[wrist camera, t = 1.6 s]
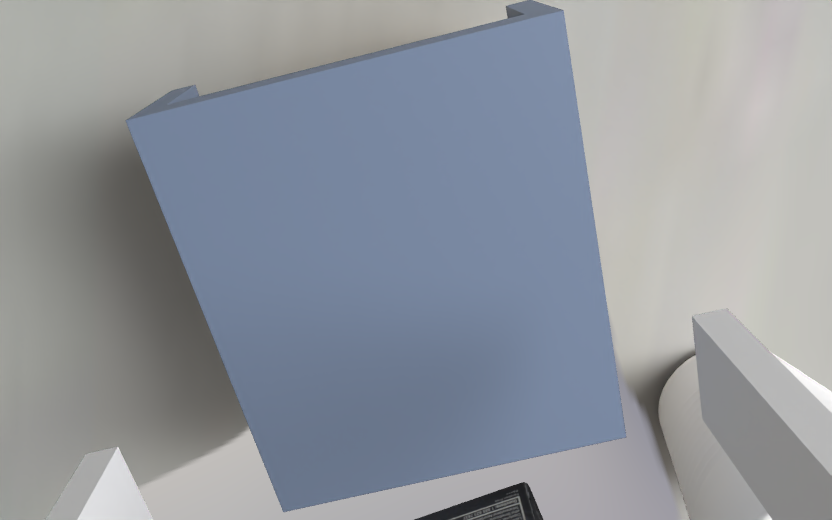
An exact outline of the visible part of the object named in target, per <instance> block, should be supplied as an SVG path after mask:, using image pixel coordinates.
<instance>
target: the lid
mask: <svg viewBox="0 0 832 520" xmlns="http://www.w3.org/2000/svg"><path fill="white" fill-rule="evenodd" d="M506 10H507V16H508V19H504V20H500V21H496V22H492V23H488V24H485V25H481V26H477V27H473V28H469V29H465V30H461V31H457V32H453V33H449V34H445V35H441V36H437V37H433V38H429V39H425V40H421V41H417V42H413V43H409V44H405V45H401V46H397V47H393V48H389V49H385V50H382V51H378V52H374V53H370V54H366V55H362V56H358V57H354V58H350V59H346V60H342V61H338V62H334V63H330V64H326V65H322V66H318V67H314V68H310V69H306V70H302V71H298V72H294V73H290V74H286V75H283V76H279V77H275V78H271V79H267V80H263V81H259V82H255V83H251V84H247V85H243V86H239V87H235V88H231V89H227V90H223V91H219V92H215V93H211V94H207V95H203V96H199V94H198V91H197V88H196V86H195V85H192V86H188V87H184V88H180V89H176V90H172V91H171V92H169V93H167V94H166V95H164V96H163V97H161V98H160V99H158V100H157V101H155V102H154V103H152V104H150V105H149V106H147V107H146V108H144V109H143V110H141V111H140V112H138V113H137V114H135V115H134V116H132V117H130V118H129V119H127V120H126V123H127V125H128V128H129V130H130V133H131V135H132V138H133V140H134V143H135V145H136V148H137V150H138V153H139V155H140V158H141V160H142V162H143V165H144V167H145V170H146V172H147V175H148V177H149V180H150V182H151V185H152V187H153V190H154V192H155V195H156V197H157V200H158V202H159V205H160V207H161V210H162V212H163V215H164V217H165V220H166V222H167V225H168V227H169V229H170V232H171V234H172V237H173V239H174V242H175V244H176V247H177V249H178V252H179V254H180V257H181V259H182V262H183V264H184V267H185V269H186V272H187V274H188V277H189V279H190V282H191V284H192V287H193V289H194V291H195V294H196V296H197V299H198V301H199V304H200V306H201V309H202V311H203V314H204V316H205V319H206V321H207V324H208V326H209V329H210V331H211V334H212V336H213V339H214V341H215V344H216V346H217V349H218V351H219V354H220V356H221V358H222V361H223V363H224V366H225V368H226V371H227V373H228V376H229V378H230V381H231V383H232V386H233V388H234V391H235V393H236V396H237V398H238V401H239V403H240V406H241V408H242V411H243V413H244V416H245V418H246V420H247V423H248V425H249V428H250V430H251V433H252V435H253V438H254V440H255V443H256V445H257V448H258V450H259V453H260V455H261V458H262V460H263V463H264V465H265V468H266V470H267V473H268V475H269V478H270V480H271V483H272V485H273V487H274V490H275V492H276V495H277V497H278V500H279V502H280V505H281V507H282V510H283V512H286V511H291V510H295V509H300V508H305V507H309V506H314V505H318V504H323V503H327V502H332V501H337V500H341V499H346V498H350V497H355V496H359V495H364V494H369V493H373V492H378V491H382V490H387V489H392V488H396V487H401V486H405V485H410V484H415V483H419V482H424V481H428V480H433V479H437V478H442V477H447V476H451V475H455V474H460V473H465V472H470V471H474V470H479V469H483V468H488V467H492V466H497V465H501V464H506V463H511V462H515V461H519V460H524V459H529V458H533V457H538V456H543V455H547V454H552V453H557V452H561V451H566V450H570V449H575V448H579V447H584V446H589V445H593V444H598V443H602V442H607V441H611V440H616V439H620V438H625V437H626V432H625V425H624V418H623V411H622V405H621V398H620V391H619V384H618V377H617V371H616V364H615V357H614V350H613V344H612V337H611V330H610V323H609V316H608V310H607V303H606V296H605V289H604V282H603V276H602V269H601V262H600V255H599V248H598V242H597V235H596V228H595V221H594V214H593V208H592V201H591V194H590V187H589V181H588V174H587V167H586V160H585V153H584V147H583V140H582V133H581V126H580V119H579V113H578V106H577V99H576V92H575V85H574V79H573V72H572V65H571V58H570V52H569V45H568V38H567V31H566V24H565V18H564V11H563V10H561V9H558V8H555V7H551V6H548V5H545V4H542V3H539V2H536V1H532V0H528V1H524V2H520V3H516V4H512V5H508V6H506Z"/></svg>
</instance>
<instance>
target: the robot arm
mask: <svg viewBox="0 0 832 520" xmlns="http://www.w3.org/2000/svg"><path fill="white" fill-rule="evenodd" d="M692 322H693V332H694V342H695V352H696V362H697V372H698V382H699V392H700V402H701V412H702V420H703V421H704V423H705V424H706V425H707V427H708V428H709V430H710V431H711V433H712V434H713V435H714V437H715V438H716V440H717V441H718V443H719V444H720V445H721V447H722V448H723V450H724V451H725V453H726V454H727V455H728V457H729V458H730V460H731V461H732V463H733V464H734V465H735V467H736V468H737V470H738V471H739V473H740V474H741V475H742V477H743V478H744V480H745V481H746V483H747V484H748V486H749V487H750V488H751V490H752V491H753V493H754V494H755V496H756V497H757V498H758V500H759V501H760V503H761V504H762V506H763V507H764V508H765V510H766V511H767V513H768V514H769V516H770V517H771V518H772V520H832V413H831V412H830V411H829V410H828V409H827V408H826V407H825V406H824V405H823V404H822V403H821V402H820V401H819V400H818V399H817V398H816V397H815V396H814V395H813V394H812V393H811V392H810V391H809V390H808V389H807V388H806V387H805V386H804V385H803V384H802V383H801V382H800V381H799V380H798V379H797V378H796V377H795V376H794V375H793V374H792V373H791V372H790V371H789V370H788V369H787V368H786V367H785V366H784V365H783V364H782V363H781V362H780V361H779V360H778V359H777V358H776V357H775V356H774V355H773V354H772V353H771V352H770V351H769V350H768V349H767V348H766V347H765V346H764V345H763V344H762V343H761V342H760V341H759V340H758V339H757V338H756V337H755V336H754V335H753V334H752V333H751V332H750V331H749V330H748V329H747V328H746V327H745V326H744V325H743V324H742V323H741V322H740V321H739V320H738V319H737V318H736V317H735V316H734V315H733V314H732V313H731V312H730V311H729V310H728V309H727V308H726V309H721V310H717V311H712V312H708V313H704V314H699V315H695V316H692ZM46 520H153V518H152V516H151V514H150V512H149V509H148V507H147V505H146V503H145V502H144V499H143V497H142V495H141V493H140V491H139V489H138V487H137V485H136V483H135V481H134V479H133V477H132V475H131V473H130V470H129V468H128V466H127V464H126V462H125V460H124V458H123V456H122V454H121V452H120V450H119V448H118V447H114V448H109V449H105V450H101V451H96V452H92V453H87V454H85V456H84V458H83V459H82V461H81V463H80V464H79V466H78V468H77V469H76V471H75V472H74V474H73V476H72V477H71V479H70V481H69V482H68V484H67V485H66V487H65V489H64V490H63V492H62V494H61V495H60V497H59V499H58V500H57V502H56V503H55V505H54V507H53V508H52V510H51V512H50V513H49V515H48V516H47V518H46Z"/></svg>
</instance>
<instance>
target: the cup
mask: <svg viewBox="0 0 832 520" xmlns="http://www.w3.org/2000/svg"><path fill="white" fill-rule="evenodd" d="M772 354H773V353H772ZM773 355H774V356H775V357H776V358H777V359H778V360H779V361H780V362H781V363H782V364H783V365H784V366H785V367H786V368H787V369H788V370H789V371H790V372H791V373H792V374H793V375H794V376H795V377H796V378H797V379H798V380H799V381H800V382H801V383H802V384H803V385H804V386H805V387H806V388H807V389H808V390H809V391H810V392H811V393H812V394H813V395H814V396H815V397H816V398H817V399H818V400H819V401H820V402H821V403H822V404H823V405H824V406H825V407H826V408H827V409H828V410H829V411H830V412H831V413H832V391H830V390H828V389H826V388H825V387H824V386H822V385H820V384H819V383H817V382H816V381H815V380H813V379H811V378H810V377H809V376H807V375H805V374H803V373H802V372H801V371H799V370H798V369H796V368H795V367H793V366H792V365H790V364H789V363H787V362H786V361H784V360H782V359H781V358H779V357H778V356H776V355H775V354H773ZM658 414H659V420H660V425H661V428H662V431H663V435H664V438H665V441H666V444H667V448H668V451H669V453H670V456H671V460H672V462H673V467H674V469H675V473H676V476H677V478H678V483H679V485H680V489H681V492H682V495H683V500H684V502H685V504H686V509H687V511H688V514H689V519H690V520H772V518H771V517H770V516H769V514H768V513H767V511H766V510H765V508H764V507H763V506H762V504H761V503H760V501H759V500H758V498H757V497H756V496H755V494H754V493H753V491H752V490H751V488H750V487H749V486H748V484H747V483H746V481H745V480H744V478H743V477H742V475H741V474H740V473H739V471H738V470H737V468H736V467H735V465H734V464H733V463H732V461H731V460H730V458H729V457H728V455H727V454H726V453H725V451H724V450H723V448H722V447H721V445H720V444H719V443H718V441H717V440H716V438H715V437H714V435H713V434H712V433H711V431H710V430H709V428H708V427H707V425H706V424H705V423H704V421H703V420H702V412H701V402H700V392H699V382H698V372H697V362H696V355H694V356H693V357H691V358H690V359H688V360H687V361H685V362H684V363H683V364H682V365H681V366H680V367H678V368H677V369H676V371H675V372H674V373H673V374H672V375H671V377H670V378H669V379H668V381H667V383H666V385H665V386H664V388H663V390H662V393H661V397H660V400H659V409H658Z"/></svg>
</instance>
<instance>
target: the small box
mask: <svg viewBox="0 0 832 520" xmlns="http://www.w3.org/2000/svg"><path fill="white" fill-rule="evenodd" d="M415 520H543V518H542V515H541V513H540V511H539V509H538V506H537V504H536V501H535V499H534V497H533V494H532V492H531V490H530V487H529V486H528V484H527V483H525V482H523V483H519V484H517V485H513V486H510V487H507V488H505V489H501V490H498V491H496V492H493V493H490V494H487V495H484V496H481V497H479V498H475V499H473V500H470V501H467V502H464V503H461V504H458V505H455V506H452V507H450V508H447V509H444V510H441V511H438V512H435V513H432V514H430V515H427V516H424V517H421V518H418V519H415Z"/></svg>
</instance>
